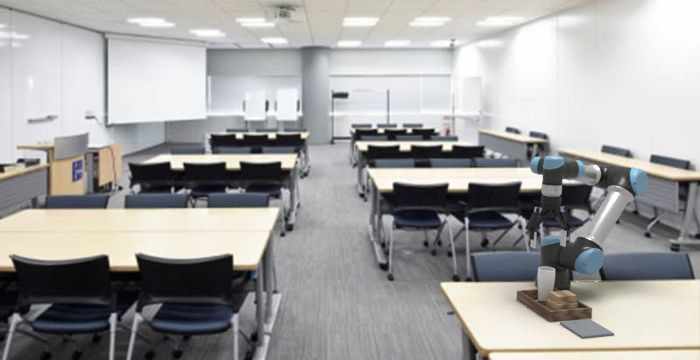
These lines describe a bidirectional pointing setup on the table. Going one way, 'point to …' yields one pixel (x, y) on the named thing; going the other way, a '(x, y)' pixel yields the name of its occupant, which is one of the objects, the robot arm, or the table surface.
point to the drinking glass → (545, 281)
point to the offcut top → (562, 297)
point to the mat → (586, 328)
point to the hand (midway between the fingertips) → (547, 246)
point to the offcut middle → (560, 305)
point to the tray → (551, 316)
